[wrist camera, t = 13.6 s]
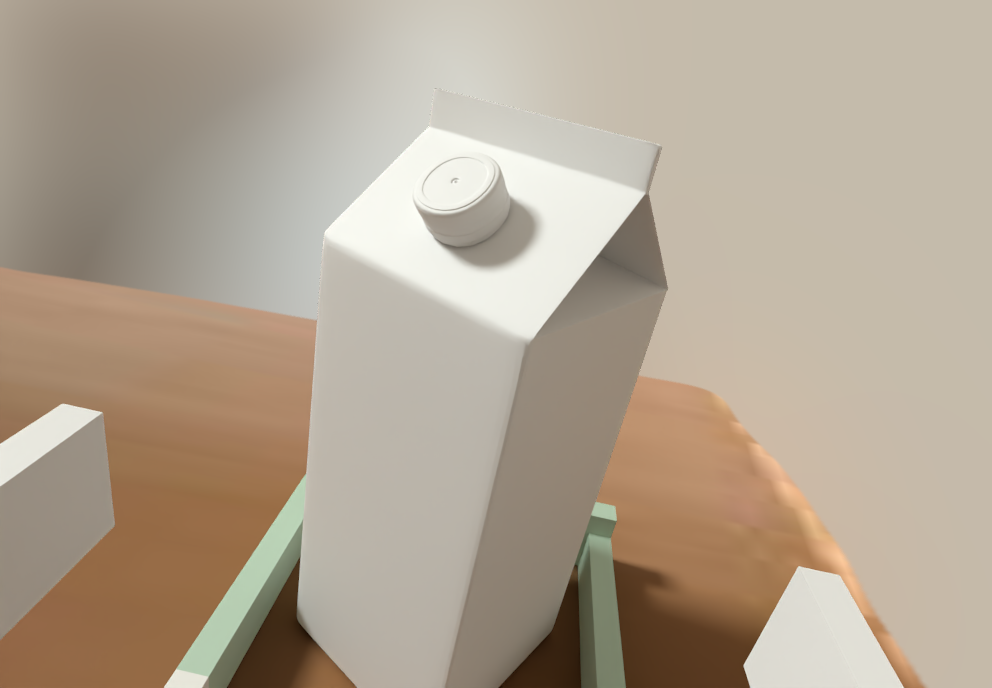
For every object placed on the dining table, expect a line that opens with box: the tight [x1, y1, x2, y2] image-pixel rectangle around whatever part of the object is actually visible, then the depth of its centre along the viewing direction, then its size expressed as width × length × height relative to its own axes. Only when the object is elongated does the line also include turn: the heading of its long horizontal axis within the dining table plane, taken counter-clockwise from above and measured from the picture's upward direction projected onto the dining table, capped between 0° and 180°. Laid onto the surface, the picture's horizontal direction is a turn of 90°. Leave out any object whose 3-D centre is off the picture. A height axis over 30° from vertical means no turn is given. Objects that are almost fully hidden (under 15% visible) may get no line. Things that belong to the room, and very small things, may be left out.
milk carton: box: [297, 88, 668, 688], centre depth 19 cm, size 7×7×19 cm
